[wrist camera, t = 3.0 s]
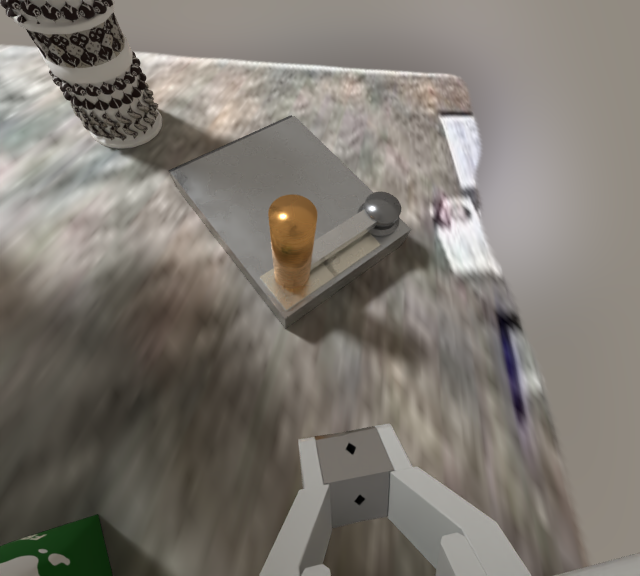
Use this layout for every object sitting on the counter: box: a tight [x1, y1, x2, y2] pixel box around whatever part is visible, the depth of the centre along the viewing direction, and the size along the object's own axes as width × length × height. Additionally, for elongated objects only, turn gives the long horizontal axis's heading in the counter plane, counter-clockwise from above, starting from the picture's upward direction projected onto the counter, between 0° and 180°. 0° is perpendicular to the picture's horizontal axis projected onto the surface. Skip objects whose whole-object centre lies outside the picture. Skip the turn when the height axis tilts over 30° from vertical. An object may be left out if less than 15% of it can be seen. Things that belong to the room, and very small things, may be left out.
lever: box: [268, 192, 401, 288], centre depth 26 cm, size 14×4×8 cm, turn 129°
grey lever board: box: [169, 116, 411, 329], centre depth 33 cm, size 21×16×3 cm
